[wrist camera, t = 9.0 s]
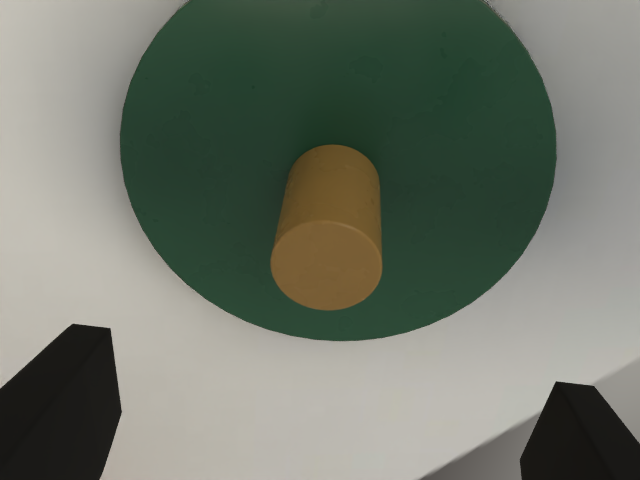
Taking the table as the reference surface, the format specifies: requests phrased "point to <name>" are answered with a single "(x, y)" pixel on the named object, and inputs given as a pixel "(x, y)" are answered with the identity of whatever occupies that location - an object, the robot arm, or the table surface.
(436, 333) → the table surface
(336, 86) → the tin lid
